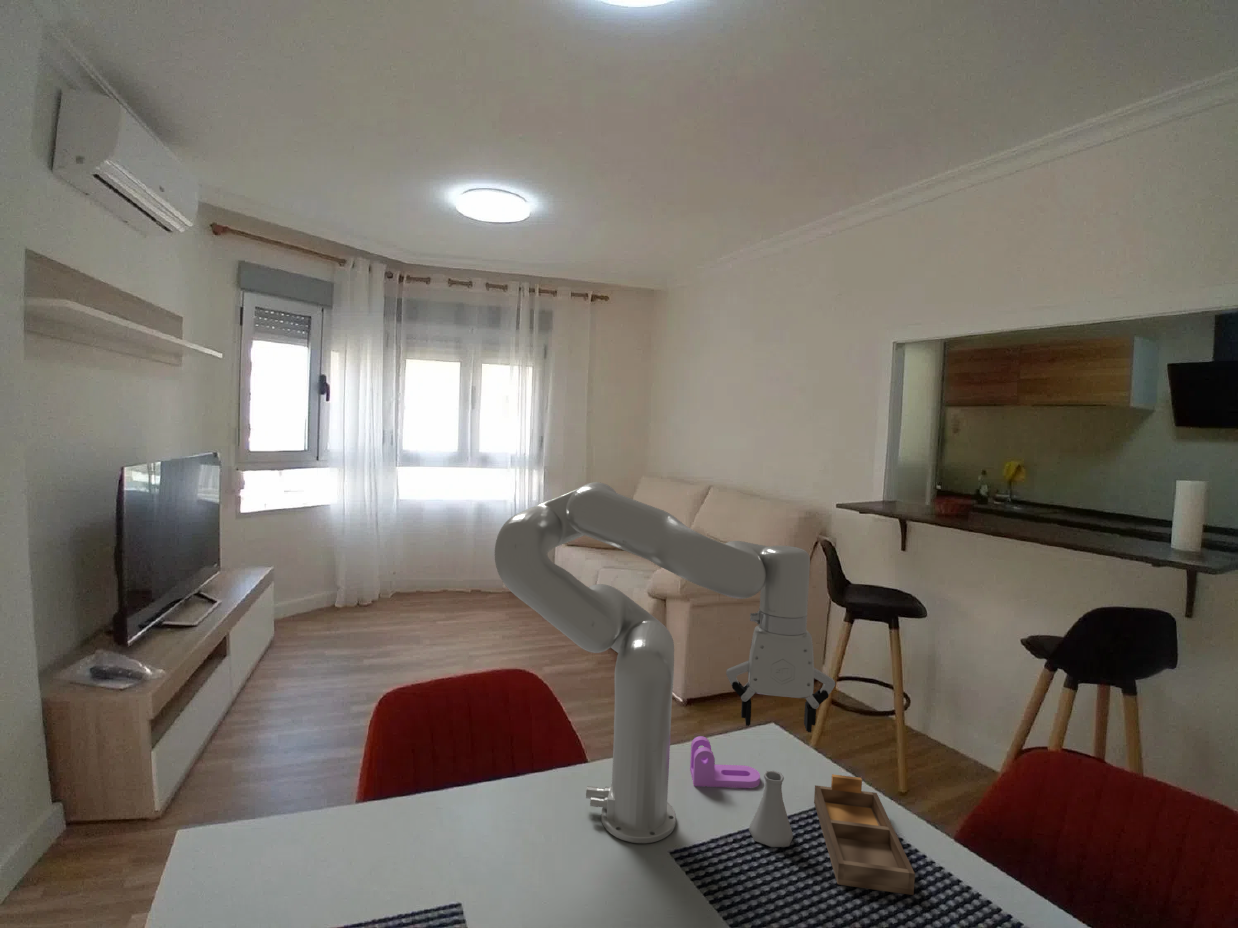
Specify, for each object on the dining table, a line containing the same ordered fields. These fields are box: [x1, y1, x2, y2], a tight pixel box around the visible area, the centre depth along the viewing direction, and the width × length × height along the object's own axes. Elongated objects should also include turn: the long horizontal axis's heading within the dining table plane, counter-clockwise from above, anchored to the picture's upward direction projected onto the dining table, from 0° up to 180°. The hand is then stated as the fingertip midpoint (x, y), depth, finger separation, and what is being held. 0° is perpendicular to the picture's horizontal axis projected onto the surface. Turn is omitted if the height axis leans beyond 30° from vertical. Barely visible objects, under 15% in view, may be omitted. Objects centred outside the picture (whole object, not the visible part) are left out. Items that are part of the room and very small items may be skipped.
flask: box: [748, 770, 794, 848], centre depth 100 cm, size 7×7×10 cm
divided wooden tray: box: [813, 773, 916, 896], centre depth 98 cm, size 11×20×6 cm, turn 171°
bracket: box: [689, 735, 761, 789], centre depth 116 cm, size 13×6×7 cm, turn 90°
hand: (777, 725), depth 99 cm, fingers open, 9 cm apart
